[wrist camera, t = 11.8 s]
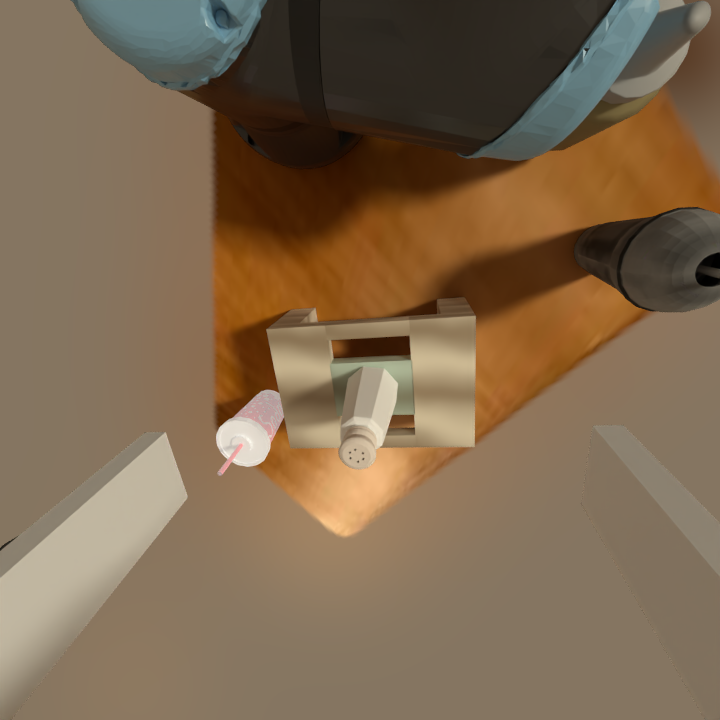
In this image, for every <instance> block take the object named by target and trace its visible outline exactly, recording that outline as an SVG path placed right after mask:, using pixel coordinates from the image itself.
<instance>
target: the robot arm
mask: <svg viewBox="0 0 720 720" xmlns="http://www.w3.org/2000/svg"><path fill="white" fill-rule="evenodd" d="M71 1H72V2H73V3H74V4H75V7H76V9H77V11H78V12H79V13H80V14H81V15H82V17H83V20H84V21H85V23H86V25H87V26H88V27H89V29H90V30H91V31H92V32H93V33H94V34H95V36H97V38H99V39H100V41H101V42H102V43H104V45H105V46H107V47H108V48H109V49H110V50H111V51H112V52H114V53H115V54H116V55H118V56H119V57H120V58H122V59H123V60H125V61H126V62H128V63H130V64H131V65H133V66H134V67H136V69H137V70H138V71H139V72H141V73H142V74H144V75H145V77H146V78H147V79H149V80H150V81H151V82H154V83H158V84H159V85H160V86H162V87H164V88H167V89H171V90H177V91H179V92H181V93H183V94H185V95H187V96H188V97H191V98H192V99H194V100H196V101H198V102H200V103H202V104H204V105H206V106H208V107H210V108H212V109H214V110H216V111H218V112H220V113H222V114H224V115H226V116H228V118H229V120H230V122H231V123H232V125H233V127H234V128H235V130H236V131H237V132H238V134H239V135H240V136H241V137H242V138H243V140H244V141H245V142H246V143H247V144H248V145H249V146H250V147H252V148H253V149H254V150H255V151H256V152H258V153H259V154H261V155H262V156H264V157H265V158H267V159H269V160H271V161H273V162H276V163H278V164H281V165H284V166H287V167H291V168H297V169H312V168H318V167H322V166H325V165H328V164H330V163H332V162H334V161H336V160H338V159H340V158H341V157H342V156H344V155H345V154H346V153H348V152H349V151H350V150H351V149H352V148H353V147H354V146H355V145H356V144H357V142H358V141H359V140H360V139H361V137H362V136H363V135H366V136H371V137H376V138H382V139H387V140H392V141H398V142H403V143H408V144H413V145H419V146H424V147H429V148H434V149H440V150H445V151H450V152H455V153H457V155H459V156H460V157H463V158H467V159H470V158H479V157H489V158H497V159H504V160H512V161H521V160H526V159H531V158H534V157H536V156H540V155H542V154H544V153H546V152H547V151H549V150H551V149H552V148H553V147H555V146H556V145H558V144H559V143H560V142H561V141H563V140H564V139H565V138H566V137H567V136H568V135H569V134H571V133H572V132H573V131H574V130H575V129H576V128H577V127H578V126H579V125H580V124H581V123H582V121H583V120H584V119H585V118H586V117H587V116H588V114H589V113H590V112H591V111H592V110H593V109H594V108H595V106H596V105H597V104H598V103H599V101H600V100H601V99H602V97H603V96H604V95H605V94H606V92H607V91H608V90H609V88H610V87H611V86H612V84H613V83H614V82H615V80H616V79H617V77H618V76H619V75H620V73H621V72H622V70H623V69H624V67H625V66H626V64H627V63H628V61H629V60H630V58H631V57H632V55H633V54H634V52H635V51H636V49H637V47H638V46H639V44H640V43H641V41H642V39H643V38H644V36H645V34H646V33H647V31H648V29H649V28H650V26H651V24H652V22H653V21H654V19H655V17H656V15H657V13H658V11H659V9H660V5H659V1H658V0H71ZM187 498H188V496H187V493H186V490H185V488H184V485H183V482H182V479H181V476H180V473H179V470H178V468H177V464H176V462H175V459H174V456H173V453H172V450H171V447H170V444H169V441H168V438H167V435H166V433H165V432H154V433H153V432H149V433H144V434H143V435H141V436H140V437H139V438H138V439H137V440H135V441H134V442H133V443H132V444H131V445H129V446H128V447H127V448H126V449H124V450H123V451H122V452H121V453H119V454H118V455H117V456H116V457H115V458H113V459H112V460H111V461H110V462H109V463H107V464H106V465H105V466H104V467H102V468H101V469H100V470H99V471H97V472H96V473H95V474H94V475H93V476H91V477H90V478H89V479H88V480H86V481H85V482H84V483H83V484H82V485H80V486H79V487H78V488H77V489H76V490H74V491H73V492H72V493H71V494H69V495H68V496H67V497H66V498H64V499H63V500H62V501H61V502H60V503H58V504H57V505H56V506H55V507H53V508H52V509H51V510H50V511H49V512H47V513H46V514H45V515H44V516H42V517H41V518H40V519H39V520H37V521H36V522H35V523H34V524H33V525H31V526H30V527H29V528H28V529H27V530H25V531H24V532H23V533H22V534H20V535H19V536H17V537H16V538H14V539H12V540H11V541H9V542H7V543H6V544H4V545H3V546H2V547H1V548H0V720H12V718H13V717H14V716H15V715H16V713H17V712H18V710H19V709H20V708H21V707H22V706H23V704H24V703H25V702H26V701H27V699H28V698H29V697H30V696H31V694H32V693H33V692H34V691H35V689H36V688H37V687H38V686H39V684H40V683H41V682H42V681H43V679H44V678H45V677H46V675H47V674H48V673H49V672H50V670H51V669H52V668H53V667H54V665H55V664H56V663H57V662H58V660H59V659H60V658H61V657H62V655H63V654H64V653H65V652H66V650H67V649H68V648H69V647H70V645H71V644H72V643H73V641H74V640H75V639H76V638H77V636H78V635H79V634H80V632H81V631H82V630H83V629H84V628H85V626H86V625H87V624H88V623H89V621H90V620H91V619H92V618H93V616H94V615H95V614H96V612H97V611H98V610H99V609H100V607H101V606H102V605H103V604H104V602H105V601H106V600H107V598H108V597H109V596H110V595H111V594H112V592H113V591H114V590H115V589H116V587H117V586H118V585H119V583H120V582H121V581H122V580H123V579H124V577H125V576H126V575H127V573H128V572H129V571H130V570H131V568H132V567H133V566H134V564H135V563H136V562H137V561H138V560H139V558H140V557H141V556H142V554H143V553H144V552H145V551H146V550H147V548H148V547H149V546H150V545H151V543H152V542H153V541H154V539H155V538H156V537H157V536H158V534H159V533H160V532H161V531H162V529H163V528H164V527H165V526H166V524H167V523H168V522H169V521H170V519H171V518H172V517H173V516H174V514H175V513H176V512H177V511H178V509H179V508H180V507H181V505H182V504H183V503H184V502H185V500H186V499H187ZM581 505H582V506H583V508H584V510H585V511H586V513H587V515H588V517H589V519H590V520H591V522H592V524H593V526H594V527H595V529H596V531H597V533H598V534H599V536H600V538H601V540H602V541H603V543H604V545H605V546H606V548H607V550H608V552H609V554H610V555H611V557H612V559H613V560H614V562H615V564H616V566H617V567H618V569H619V571H620V573H621V574H622V576H623V578H624V580H625V581H626V583H627V585H628V587H629V588H630V590H631V592H632V594H633V595H634V597H635V599H636V600H637V602H638V604H639V606H640V608H641V609H642V611H643V613H644V615H645V616H646V618H647V620H648V621H649V623H650V625H651V627H652V628H653V630H654V632H655V634H656V635H657V637H658V639H659V641H660V642H661V644H662V646H663V648H664V649H665V651H666V653H667V655H668V656H669V658H670V660H671V662H672V663H673V665H674V667H675V669H676V670H677V672H678V674H679V675H680V677H681V679H682V681H683V682H684V684H685V686H686V687H687V689H688V691H689V693H690V694H691V696H692V698H693V700H694V702H695V703H696V705H697V707H698V709H699V710H700V712H701V714H702V716H703V717H704V719H705V720H720V523H719V522H718V521H717V520H716V519H715V518H714V517H713V516H712V515H711V514H710V513H709V512H708V511H707V510H706V509H705V508H704V507H703V506H702V505H701V504H700V503H699V501H698V500H697V499H696V498H695V497H694V496H693V495H692V494H691V493H690V492H689V491H688V490H687V489H686V488H685V487H684V486H683V485H682V484H681V483H680V482H679V481H678V480H677V479H676V478H675V477H674V476H673V475H672V474H671V473H670V472H669V471H668V470H667V469H666V468H665V467H664V466H663V465H662V464H661V463H660V462H659V461H658V460H657V459H656V458H655V457H654V456H653V455H652V454H651V453H650V452H649V451H648V450H647V449H646V448H645V447H644V446H643V445H642V444H641V443H640V442H639V441H638V440H637V439H636V438H635V437H634V436H633V435H632V434H631V433H630V431H629V430H628V429H626V428H625V426H624V425H609V426H593V427H592V434H591V441H590V448H589V454H588V461H587V468H586V475H585V482H584V489H583V496H582V502H581Z"/></svg>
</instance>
